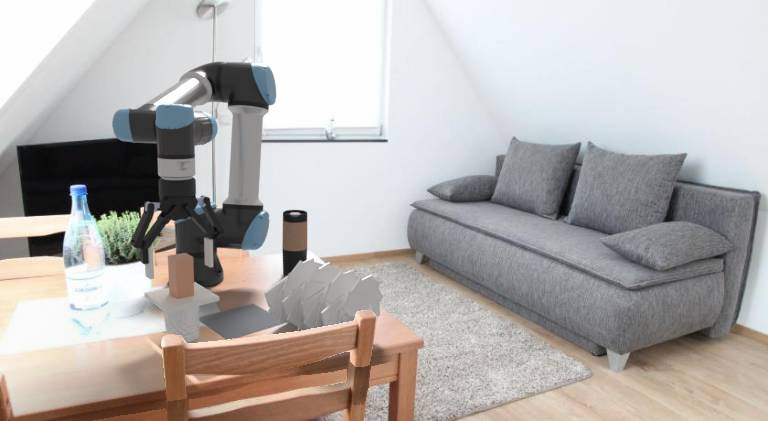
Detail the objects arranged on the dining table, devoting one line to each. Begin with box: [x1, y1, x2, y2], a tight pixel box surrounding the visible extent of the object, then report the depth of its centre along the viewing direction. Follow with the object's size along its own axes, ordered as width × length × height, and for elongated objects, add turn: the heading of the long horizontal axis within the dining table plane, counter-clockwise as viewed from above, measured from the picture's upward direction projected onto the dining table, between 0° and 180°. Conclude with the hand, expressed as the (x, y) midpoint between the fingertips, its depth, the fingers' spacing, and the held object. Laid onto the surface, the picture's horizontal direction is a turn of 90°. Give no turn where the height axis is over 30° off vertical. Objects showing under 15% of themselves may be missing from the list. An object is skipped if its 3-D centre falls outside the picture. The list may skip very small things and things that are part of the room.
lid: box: [144, 253, 220, 313], centre depth 125 cm, size 12×12×10 cm
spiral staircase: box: [264, 257, 384, 332], centre depth 132 cm, size 18×18×25 cm
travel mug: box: [281, 209, 308, 277], centre depth 174 cm, size 8×8×20 cm
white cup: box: [163, 305, 201, 343], centre depth 127 cm, size 8×8×10 cm
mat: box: [200, 302, 285, 340], centre depth 138 cm, size 16×16×1 cm
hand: (180, 271), depth 124 cm, fingers open, 13 cm apart
